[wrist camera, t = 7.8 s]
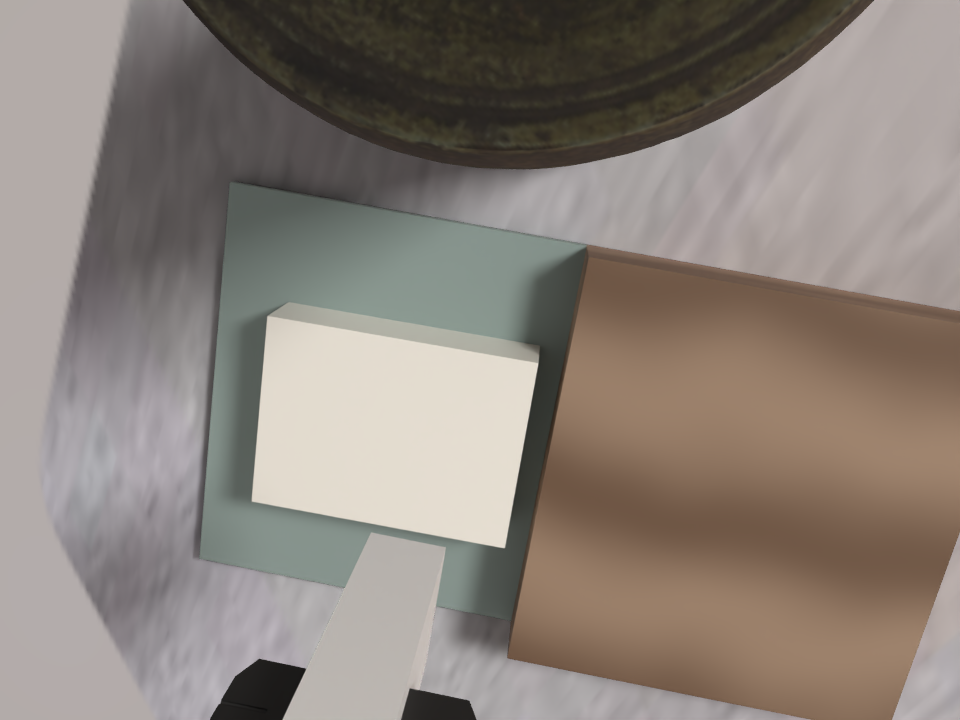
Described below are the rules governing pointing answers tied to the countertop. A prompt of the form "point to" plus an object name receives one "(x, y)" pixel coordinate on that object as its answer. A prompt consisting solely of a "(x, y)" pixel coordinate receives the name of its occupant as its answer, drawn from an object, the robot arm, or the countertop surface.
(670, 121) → the container
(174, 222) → the countertop surface
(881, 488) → the board
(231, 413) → the mat
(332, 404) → the block
